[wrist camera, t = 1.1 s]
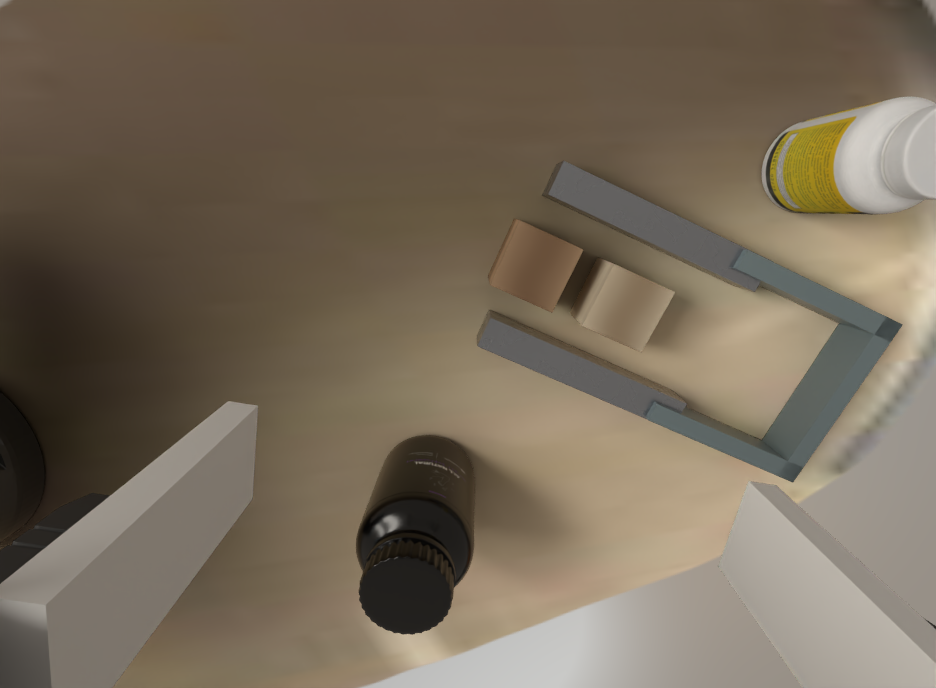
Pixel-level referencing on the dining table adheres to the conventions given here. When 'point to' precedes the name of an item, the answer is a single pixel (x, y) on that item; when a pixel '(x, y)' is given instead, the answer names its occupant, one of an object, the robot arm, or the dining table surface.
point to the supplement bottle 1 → (416, 534)
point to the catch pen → (818, 390)
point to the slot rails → (645, 227)
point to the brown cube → (534, 265)
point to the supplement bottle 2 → (856, 160)
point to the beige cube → (620, 304)
